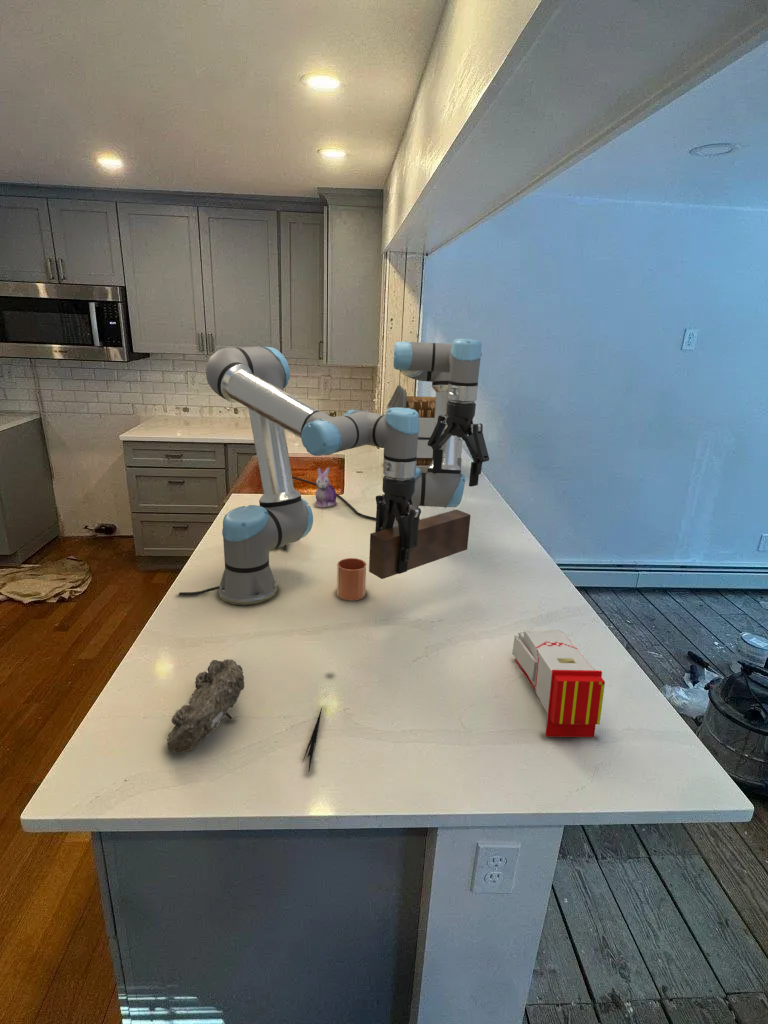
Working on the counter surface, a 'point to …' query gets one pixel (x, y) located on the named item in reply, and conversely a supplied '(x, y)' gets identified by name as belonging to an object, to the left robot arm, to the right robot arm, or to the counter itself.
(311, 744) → the feather
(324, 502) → the figurine
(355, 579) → the terracotta cup
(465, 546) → the walnut box
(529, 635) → the toy
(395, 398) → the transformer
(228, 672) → the fossil
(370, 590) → the counter surface
